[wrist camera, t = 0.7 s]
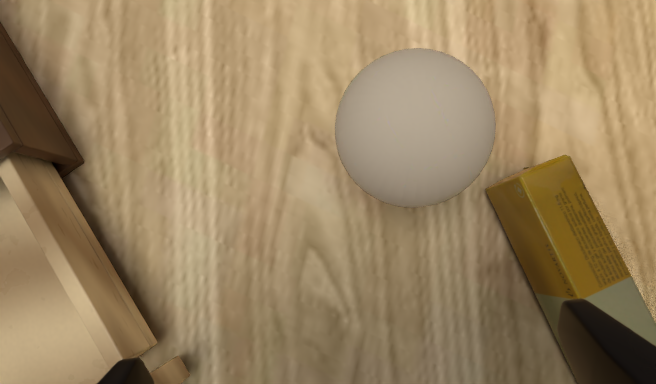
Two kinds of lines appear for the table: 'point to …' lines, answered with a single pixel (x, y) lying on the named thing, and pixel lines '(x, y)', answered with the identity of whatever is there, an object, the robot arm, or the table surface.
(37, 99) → the cabinet
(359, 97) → the light bulb
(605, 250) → the medication box
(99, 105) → the table surface
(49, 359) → the drawer
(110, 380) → the robot arm
